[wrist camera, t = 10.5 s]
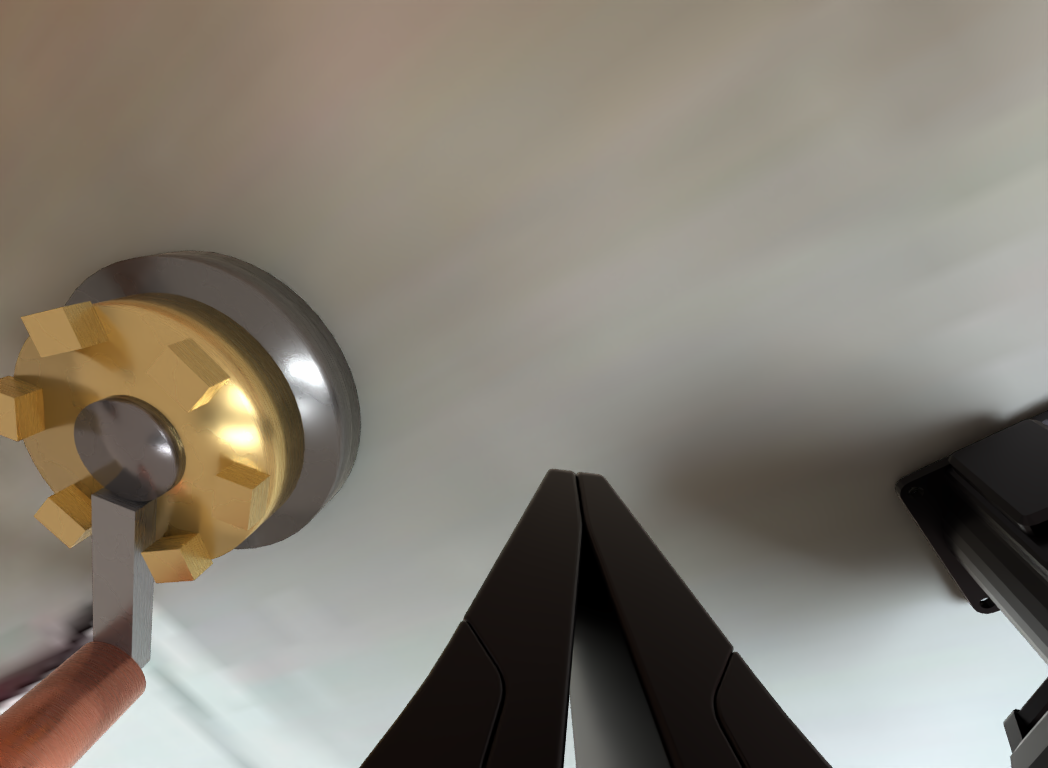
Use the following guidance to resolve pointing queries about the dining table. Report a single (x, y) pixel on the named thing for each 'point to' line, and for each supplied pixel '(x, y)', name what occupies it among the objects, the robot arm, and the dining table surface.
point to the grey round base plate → (291, 344)
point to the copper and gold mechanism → (139, 481)
